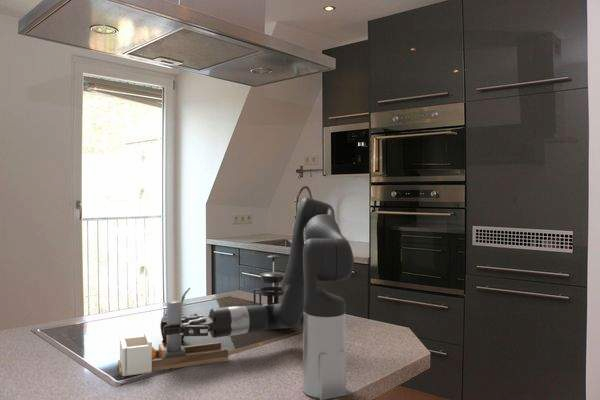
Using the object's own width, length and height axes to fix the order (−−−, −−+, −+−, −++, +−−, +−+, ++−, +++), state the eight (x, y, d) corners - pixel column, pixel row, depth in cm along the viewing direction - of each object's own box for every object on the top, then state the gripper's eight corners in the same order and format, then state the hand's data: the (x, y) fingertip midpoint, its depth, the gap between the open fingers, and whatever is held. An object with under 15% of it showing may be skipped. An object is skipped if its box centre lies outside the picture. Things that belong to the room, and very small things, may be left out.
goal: (151, 372, 111) (151, 342, 111) (122, 376, 109) (122, 345, 109) (146, 359, 120) (147, 332, 119) (119, 363, 117) (120, 334, 117)
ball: (136, 357, 112) (147, 368, 113) (149, 344, 114) (160, 355, 115) (134, 352, 116) (145, 362, 117) (147, 340, 117) (158, 350, 118)
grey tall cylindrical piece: (186, 359, 116) (186, 303, 116) (162, 362, 114) (162, 305, 114) (181, 352, 122) (182, 299, 121) (158, 355, 119) (159, 301, 119)
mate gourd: (157, 346, 131) (157, 292, 131) (164, 337, 139) (165, 287, 138) (184, 346, 131) (184, 292, 131) (190, 337, 139) (190, 287, 139)
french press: (291, 322, 156) (292, 254, 156) (285, 330, 147) (286, 257, 147) (257, 320, 158) (258, 253, 158) (249, 328, 149) (250, 256, 149)
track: (228, 360, 120) (228, 350, 120) (120, 375, 109) (120, 365, 109) (220, 351, 127) (220, 341, 127) (117, 364, 116) (117, 354, 116)
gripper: (222, 301, 130) (158, 307, 123) (237, 313, 117) (167, 320, 110) (221, 328, 130) (158, 335, 123) (236, 343, 118) (166, 351, 110)
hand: (162, 328), depth 117 cm, fingers closed on grey tall cylindrical piece, 3 cm apart
